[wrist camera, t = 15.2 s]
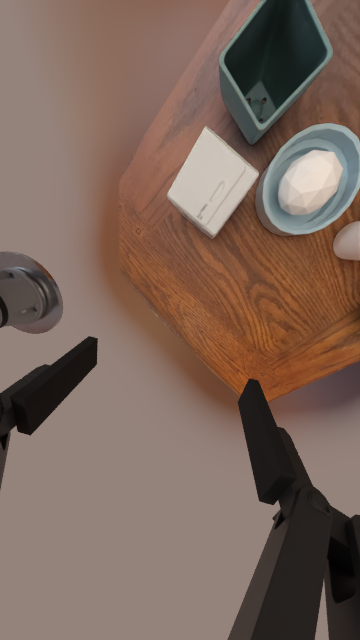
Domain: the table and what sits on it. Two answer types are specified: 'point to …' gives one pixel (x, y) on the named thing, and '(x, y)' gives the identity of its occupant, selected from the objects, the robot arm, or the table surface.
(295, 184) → the geometric ball
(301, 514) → the robot arm
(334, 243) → the candle
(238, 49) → the flower pot
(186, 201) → the ink box
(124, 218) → the table surface
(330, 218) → the bowl
